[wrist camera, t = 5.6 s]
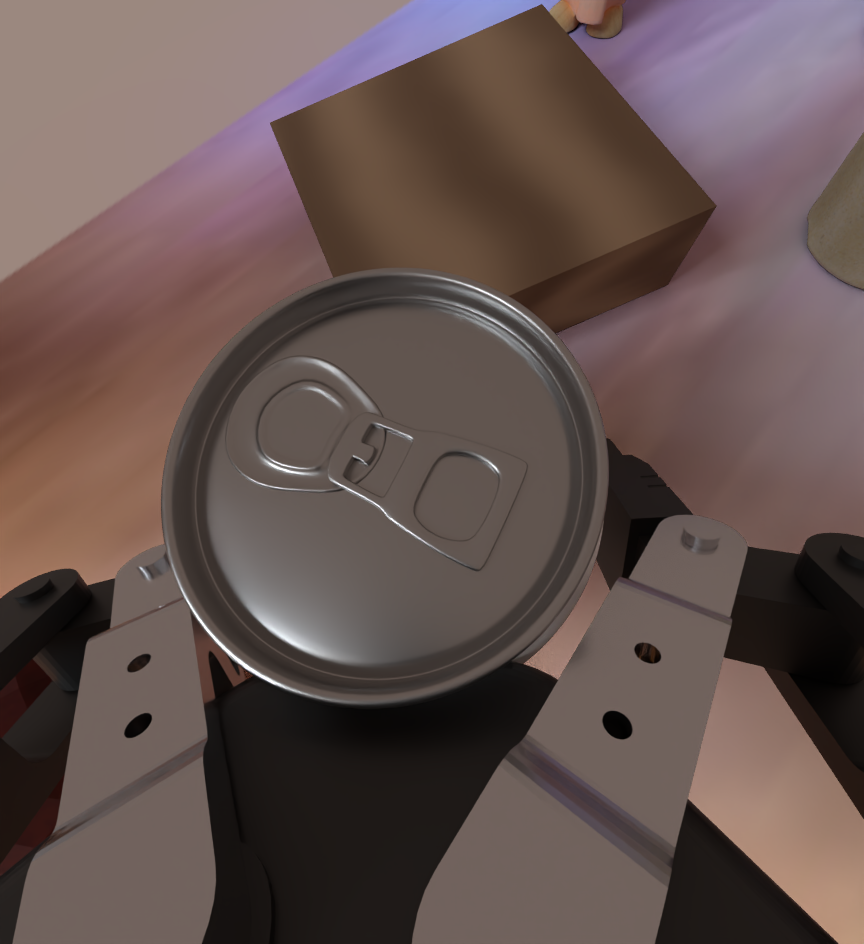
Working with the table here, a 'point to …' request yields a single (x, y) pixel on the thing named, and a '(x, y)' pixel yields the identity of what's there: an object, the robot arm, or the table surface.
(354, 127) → the walnut block
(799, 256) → the table surface
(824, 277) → the table surface
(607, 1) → the grandmother figurine
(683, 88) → the table surface
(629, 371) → the table surface
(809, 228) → the flower pot
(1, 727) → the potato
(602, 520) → the can
